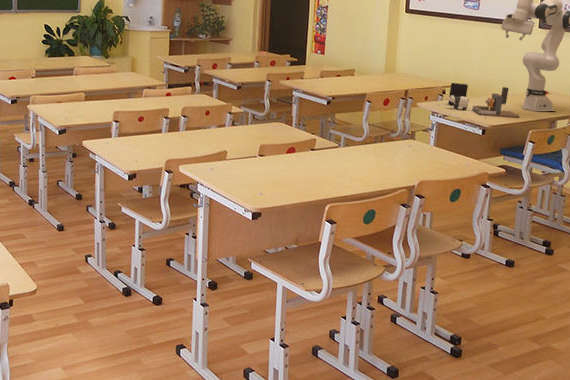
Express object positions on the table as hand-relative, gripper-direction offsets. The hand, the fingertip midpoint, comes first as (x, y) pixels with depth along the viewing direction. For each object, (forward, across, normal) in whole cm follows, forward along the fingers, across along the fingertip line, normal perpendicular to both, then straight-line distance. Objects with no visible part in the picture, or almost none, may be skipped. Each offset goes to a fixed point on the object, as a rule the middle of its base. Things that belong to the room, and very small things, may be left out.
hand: (513, 38), depth 534 cm
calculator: (+50, +29, -11) cm, 59 cm away
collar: (+46, +3, -3) cm, 46 cm away
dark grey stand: (+50, 0, -7) cm, 50 cm away
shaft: (+43, 0, -5) cm, 43 cm away
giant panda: (+53, +22, +1) cm, 58 cm away
